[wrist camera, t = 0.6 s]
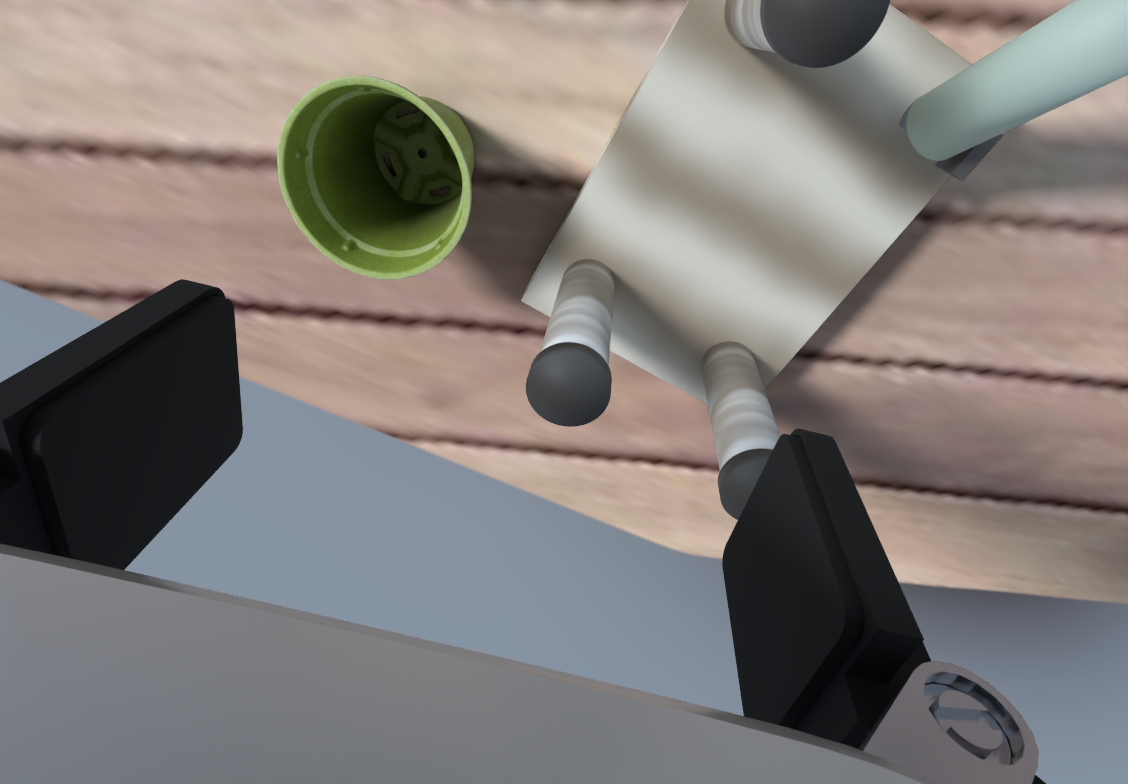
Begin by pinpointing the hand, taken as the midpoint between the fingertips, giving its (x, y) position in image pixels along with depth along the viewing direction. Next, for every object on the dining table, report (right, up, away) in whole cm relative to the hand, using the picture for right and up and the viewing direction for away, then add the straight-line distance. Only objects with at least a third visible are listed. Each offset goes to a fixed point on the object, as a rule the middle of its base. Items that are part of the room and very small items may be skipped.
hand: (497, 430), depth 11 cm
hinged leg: (+19, +13, +19) cm, 30 cm away
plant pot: (-7, +15, +27) cm, 31 cm away
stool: (+11, +12, +26) cm, 31 cm away
